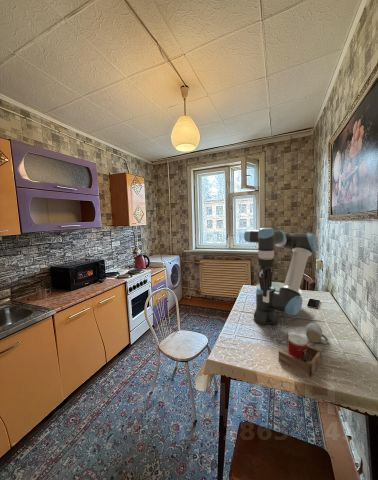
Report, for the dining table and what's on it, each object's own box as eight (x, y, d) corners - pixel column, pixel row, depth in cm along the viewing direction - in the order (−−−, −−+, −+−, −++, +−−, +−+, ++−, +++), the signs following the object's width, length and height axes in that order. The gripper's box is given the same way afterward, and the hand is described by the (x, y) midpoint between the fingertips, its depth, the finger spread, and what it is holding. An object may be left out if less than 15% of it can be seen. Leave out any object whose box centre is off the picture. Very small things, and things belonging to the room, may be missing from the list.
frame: (290, 347, 107) (290, 338, 106) (321, 360, 96) (321, 351, 96) (278, 360, 98) (278, 351, 97) (310, 377, 87) (311, 366, 87)
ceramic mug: (305, 341, 112) (306, 328, 111) (306, 333, 119) (306, 321, 118) (328, 347, 106) (329, 333, 105) (328, 339, 113) (328, 326, 112)
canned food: (299, 369, 92) (299, 346, 91) (284, 358, 99) (284, 337, 98) (310, 363, 95) (311, 341, 94) (295, 353, 102) (295, 332, 101)
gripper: (265, 255, 112) (265, 296, 114) (252, 259, 103) (253, 303, 106) (278, 256, 106) (278, 299, 109) (266, 261, 97) (266, 308, 100)
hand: (265, 301), depth 107 cm, fingers closed
